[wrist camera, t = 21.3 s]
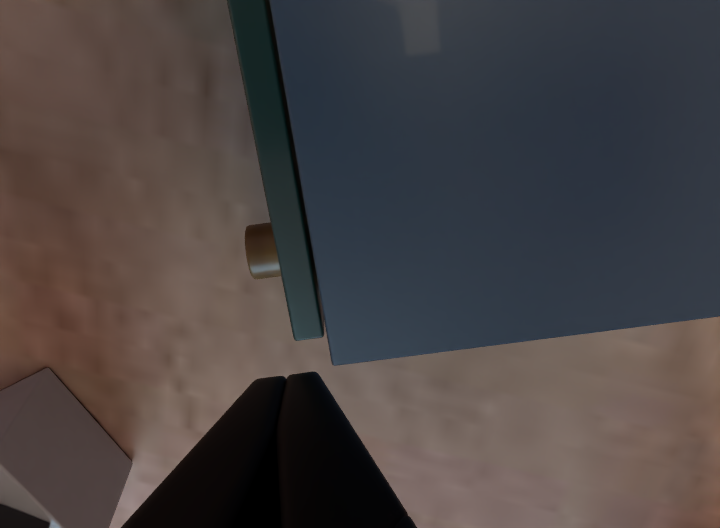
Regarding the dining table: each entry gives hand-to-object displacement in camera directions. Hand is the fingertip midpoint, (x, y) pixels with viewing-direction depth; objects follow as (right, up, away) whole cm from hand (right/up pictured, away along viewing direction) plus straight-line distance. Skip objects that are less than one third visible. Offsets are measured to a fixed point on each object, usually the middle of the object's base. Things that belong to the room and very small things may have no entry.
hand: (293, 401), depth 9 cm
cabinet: (+5, +8, +10) cm, 14 cm away
